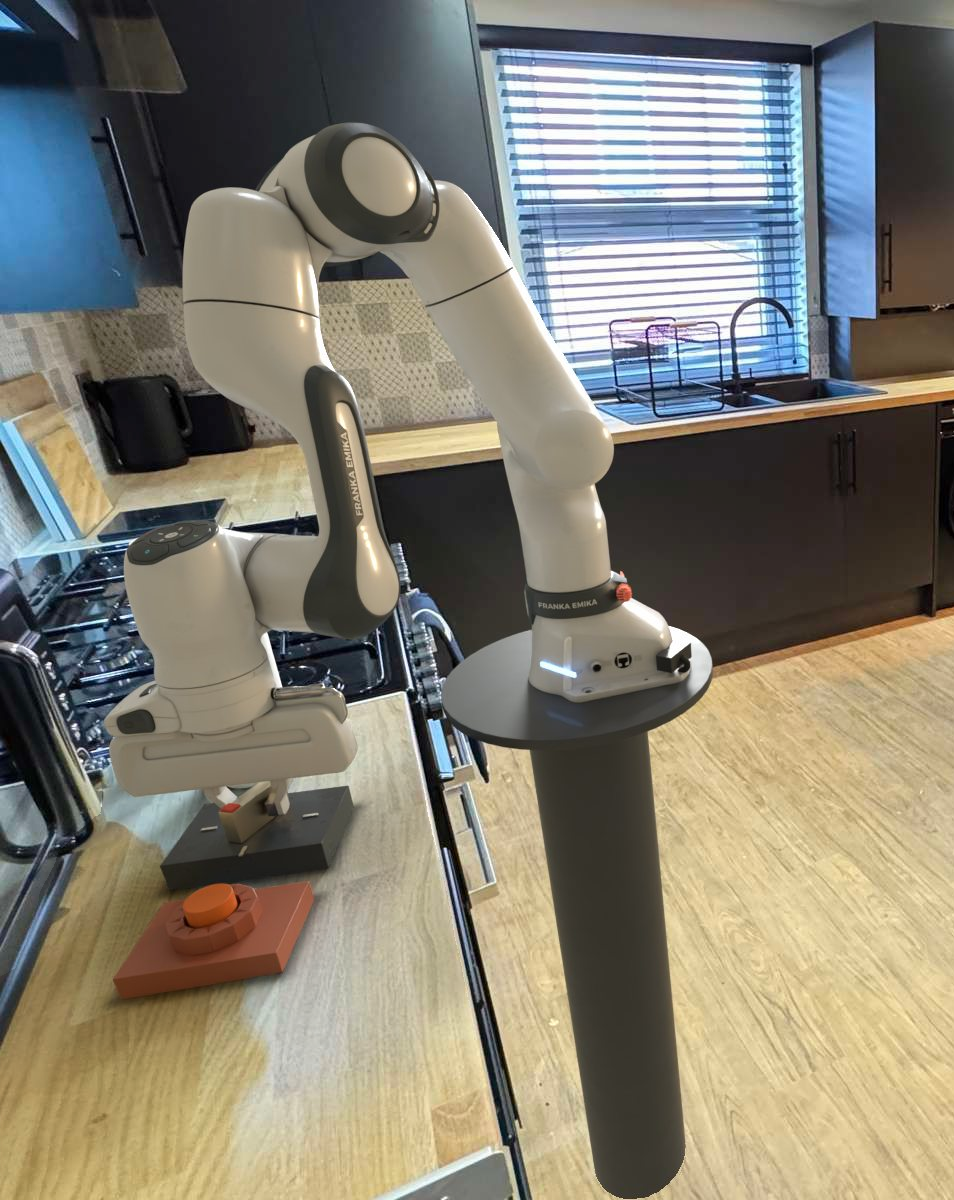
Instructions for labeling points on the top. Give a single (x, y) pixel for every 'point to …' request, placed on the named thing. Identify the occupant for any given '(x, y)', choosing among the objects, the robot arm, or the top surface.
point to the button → (210, 905)
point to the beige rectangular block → (247, 813)
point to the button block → (217, 942)
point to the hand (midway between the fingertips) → (259, 814)
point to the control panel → (261, 842)
